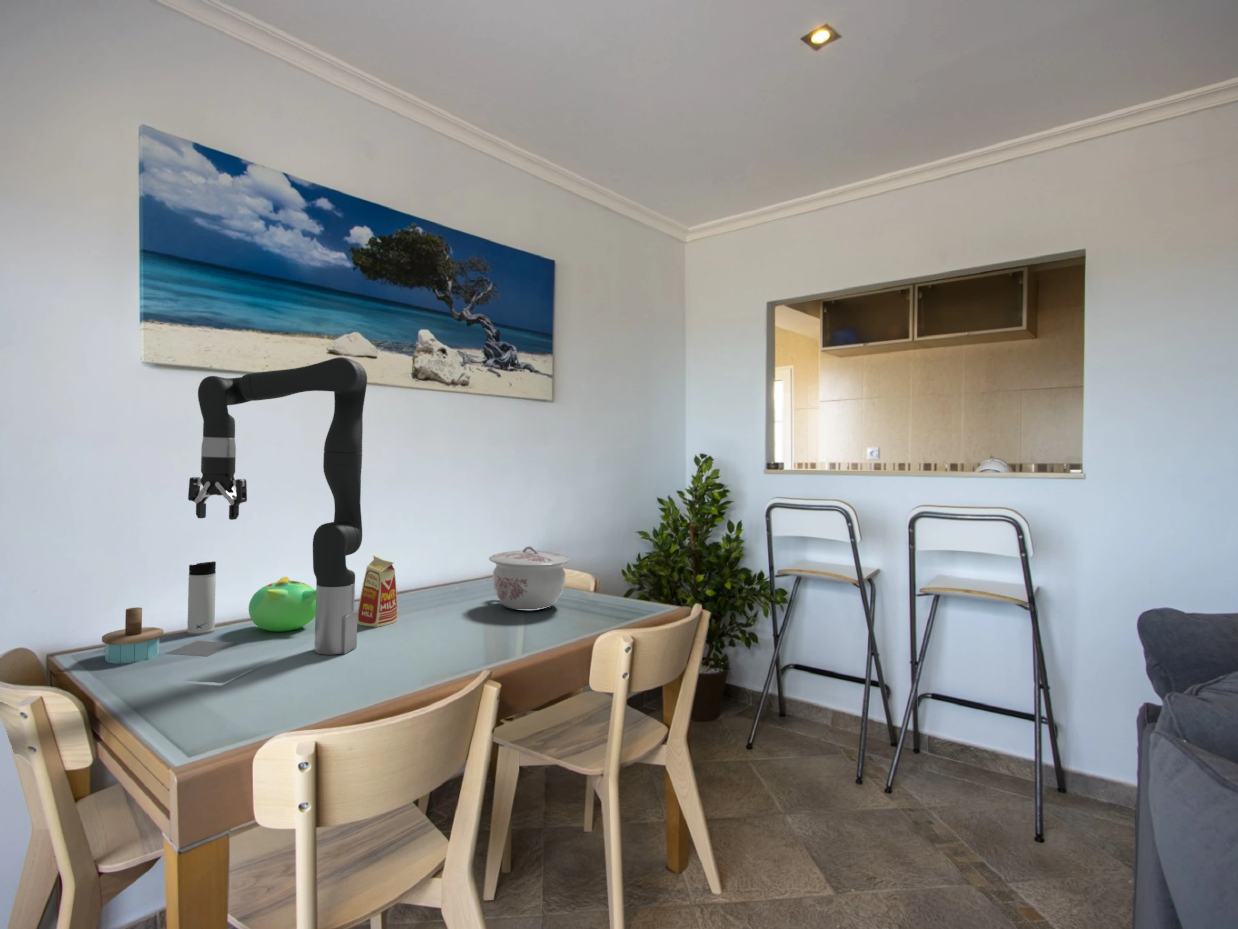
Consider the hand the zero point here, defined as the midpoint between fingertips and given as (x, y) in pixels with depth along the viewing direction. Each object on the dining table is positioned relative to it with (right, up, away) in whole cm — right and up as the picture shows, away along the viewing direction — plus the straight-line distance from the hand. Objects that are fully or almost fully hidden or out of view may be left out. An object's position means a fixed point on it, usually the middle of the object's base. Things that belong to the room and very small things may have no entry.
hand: (217, 518), depth 170 cm
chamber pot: (+72, -35, +57) cm, 98 cm away
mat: (-2, -33, -2) cm, 33 cm away
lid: (-14, -28, -10) cm, 33 cm away
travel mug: (-11, -33, +12) cm, 36 cm away
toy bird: (+8, -33, +18) cm, 39 cm away
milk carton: (+30, -34, +30) cm, 55 cm away
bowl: (-14, -33, -10) cm, 37 cm away
